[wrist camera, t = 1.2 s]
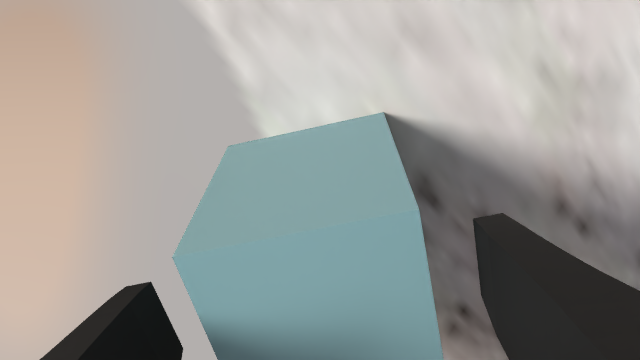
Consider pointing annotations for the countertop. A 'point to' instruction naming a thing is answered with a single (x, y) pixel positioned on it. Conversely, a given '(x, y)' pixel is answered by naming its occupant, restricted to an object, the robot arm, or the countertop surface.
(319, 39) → the countertop surface
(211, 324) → the teal block
